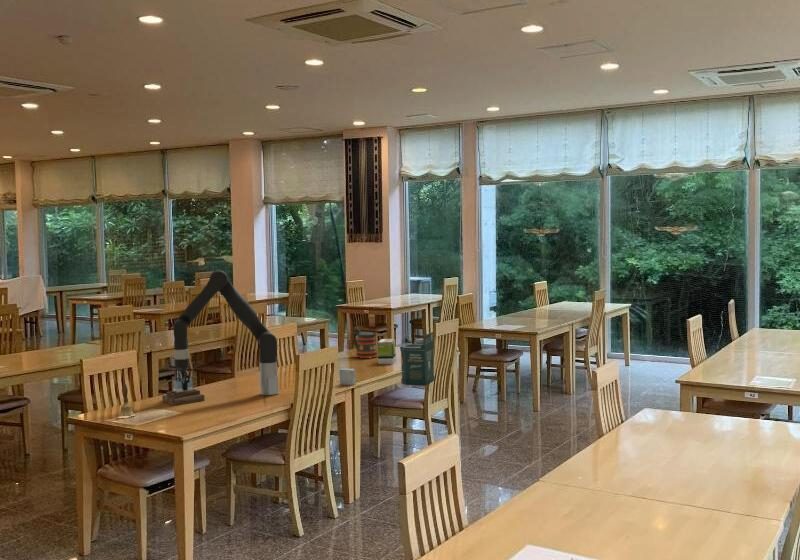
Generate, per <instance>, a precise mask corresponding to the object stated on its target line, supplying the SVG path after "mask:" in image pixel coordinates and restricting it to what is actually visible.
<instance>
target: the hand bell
mask: <svg viewBox="0 0 800 560" xmlns="http://www.w3.org/2000/svg"><path fill="white" fill-rule="evenodd" d="M128 390H129V389H128V386H127V384H126V383H122V388H121V394H122V397H123V404H122V405H121V406H120V412H119V414H118V416H131V415H134V414H135V413H134V412H133V410H132V406H131V404H128V392H129V391H128Z"/></svg>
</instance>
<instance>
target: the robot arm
mask: <svg viewBox="0 0 800 560" xmlns="http://www.w3.org/2000/svg"><path fill="white" fill-rule="evenodd" d="M209 275H210V276H209V280H208V281H207V283H206V285H205V286H204V287H203V289H202V290H201V291H200V292H199V293H198V295H197V296H195V297H194V298H193V299H192V300H191V302H190V303H189V304H188V305H187V307H186V308H185V309H184V311H183V312H182V313H181V314H180V316H178V317H177V319H176V320H175V321H174V323H173V325H172V330H173V339H174V340H173V349H174V351H173V361H174V363H173V364H174V367H175V368H174V374H175V376H174V377H175V380H180V379H182V381H183V390H184V391H186V390H188V385H187V383H188V382H190V379H191V371H190V370H188V367H190V351H189V340H188V328H189V326H190V325H191V323H192V322H193V321H194V320H195V319H196V318H197V317H198V316H199V315H200V314H201V313H202V311H203V310H204V308H205V307H206V305H207V304H208V303H209V302H210V301H211V299H212V298H213V297H214V296H215V295H216V294H217V293H220V294H221V295H222V296H223V297H224V299H225V301H226V303H227V305H228V306H229V307H230V309H231V311H232V312H233V313H234V315H235V316H236V317H237V319H239V321H240V322H241V323H242V324H243V326H245V327H246V328H247V329H248V330H249V331H250V332H251V334H252V335H253V337H254V338H255V339H256V341H257V343H258V345H259V382H260V383H259V385H260V395H262V396H274V395H279V394H280V392H279V376H278V341H277V337H276V335H275V334H273V333H272V332H271V331H270V330H269V329H267V327H266V326H265V325H264V324H263V323H262V321H261V320H260V318H259V316H258V314H257V313H256V311H255V309H254V308H253V307H252V305H251V304H250V303H249V302H248V300H247V299H246V298H245V297H244V296H243V295H242V294H241V293H240V292H239V291H238V290H237V289H236V288H235V287H234V285H233V284H232V282H231V281H230V280H229V278H228V275H227V273H226V272H225V271H223V270H221V269H216V270H213V271H212V272H211V273H210V274H209Z"/></svg>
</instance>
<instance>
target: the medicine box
mask: <svg viewBox="0 0 800 560" xmlns="http://www.w3.org/2000/svg"><path fill="white" fill-rule="evenodd" d="M339 384H340V386H354V385H356V369H355V368H340V369H339Z"/></svg>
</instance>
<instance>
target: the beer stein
mask: <svg viewBox="0 0 800 560" xmlns="http://www.w3.org/2000/svg"><path fill="white" fill-rule="evenodd" d="M352 334H353V337H352V339H353V343H354V345H355V349H356V358H357V357H360V358H359V359H362V358H369V357H376V356H377V357H378V348H377V340H376V333H374V332H372V331H371V332H370V331H361V330H360V329H359V328H358V327H354V331H352ZM356 337H357V339H356ZM377 357H376V358H377ZM369 359H370V358H369Z"/></svg>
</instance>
